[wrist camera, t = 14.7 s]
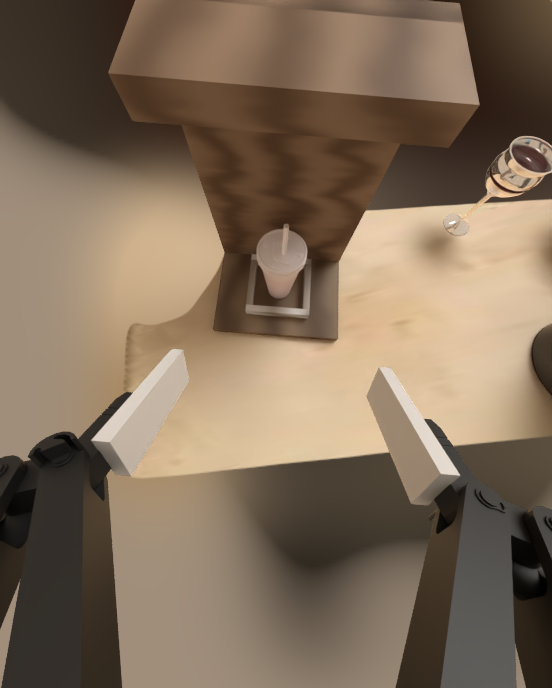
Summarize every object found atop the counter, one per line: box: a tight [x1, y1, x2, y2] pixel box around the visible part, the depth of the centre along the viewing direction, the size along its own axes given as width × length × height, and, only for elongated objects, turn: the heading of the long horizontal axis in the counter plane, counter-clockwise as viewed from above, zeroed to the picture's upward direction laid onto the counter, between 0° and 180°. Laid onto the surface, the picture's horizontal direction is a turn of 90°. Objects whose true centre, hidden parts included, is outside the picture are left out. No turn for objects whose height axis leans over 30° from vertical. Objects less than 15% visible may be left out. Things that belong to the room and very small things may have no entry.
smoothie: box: [257, 224, 307, 299], centre depth 28 cm, size 6×6×14 cm
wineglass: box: [444, 136, 552, 235], centre depth 34 cm, size 7×7×12 cm
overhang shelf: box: [108, 0, 479, 340], centre depth 23 cm, size 20×16×25 cm
